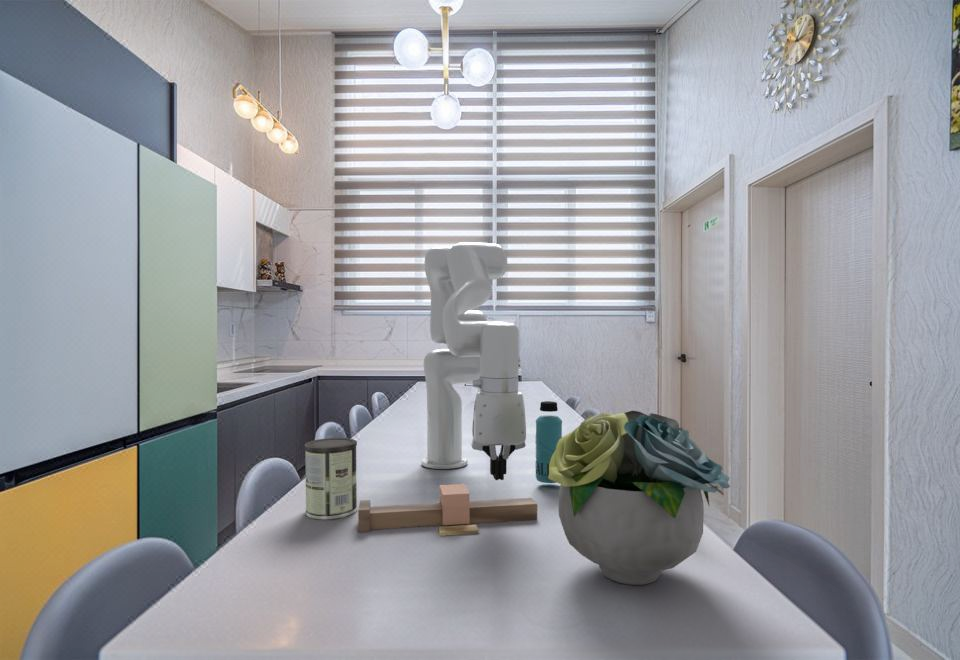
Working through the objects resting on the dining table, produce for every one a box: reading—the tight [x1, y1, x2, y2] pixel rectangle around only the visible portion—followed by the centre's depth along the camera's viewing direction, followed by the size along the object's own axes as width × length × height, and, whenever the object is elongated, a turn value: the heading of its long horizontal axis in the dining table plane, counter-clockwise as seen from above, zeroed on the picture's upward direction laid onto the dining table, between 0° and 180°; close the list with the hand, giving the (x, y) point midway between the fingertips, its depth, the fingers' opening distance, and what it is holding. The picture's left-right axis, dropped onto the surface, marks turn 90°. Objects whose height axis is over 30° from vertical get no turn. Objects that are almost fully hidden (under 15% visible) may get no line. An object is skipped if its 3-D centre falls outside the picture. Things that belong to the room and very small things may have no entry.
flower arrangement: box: [548, 410, 731, 586], centre depth 84 cm, size 25×25×24 cm
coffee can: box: [304, 437, 358, 521], centre depth 114 cm, size 10×10×14 cm
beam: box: [357, 497, 538, 537], centre depth 108 cm, size 15×34×4 cm, turn 100°
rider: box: [439, 483, 471, 526], centre depth 108 cm, size 7×5×6 cm
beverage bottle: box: [534, 400, 563, 484], centre depth 132 cm, size 6×7×20 cm
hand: (498, 477), depth 111 cm, fingers closed
